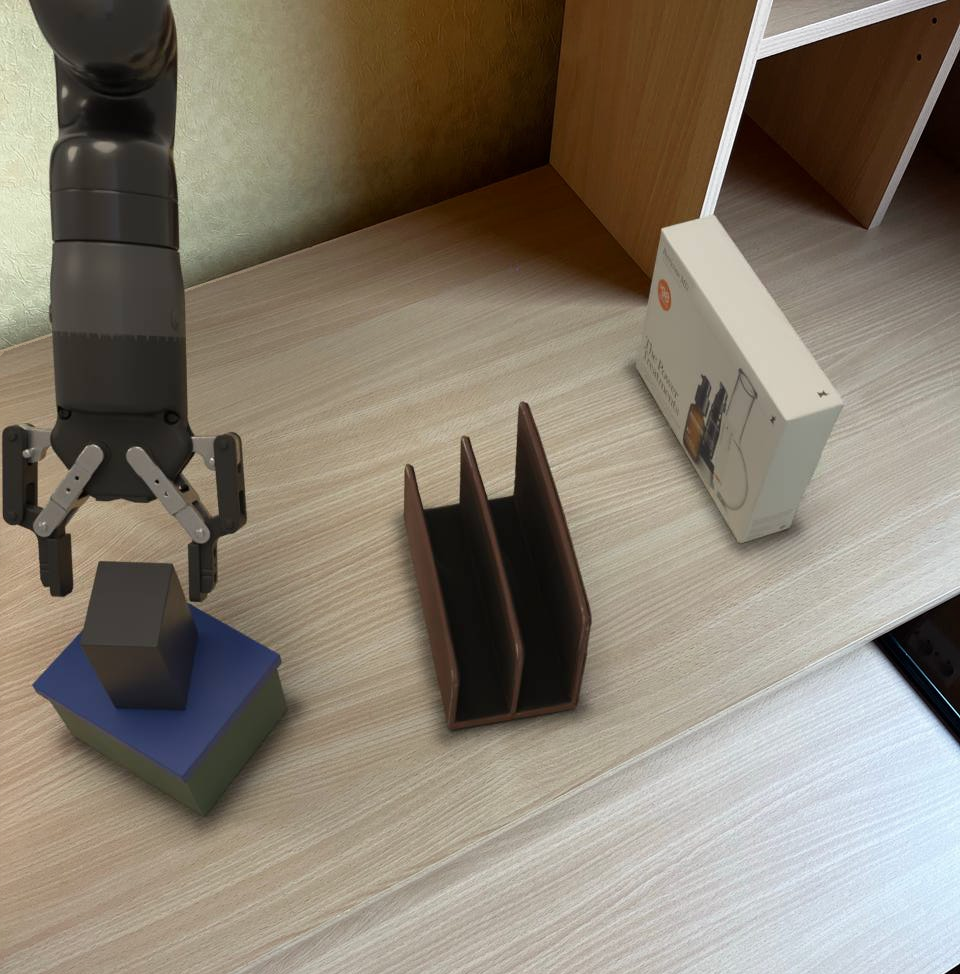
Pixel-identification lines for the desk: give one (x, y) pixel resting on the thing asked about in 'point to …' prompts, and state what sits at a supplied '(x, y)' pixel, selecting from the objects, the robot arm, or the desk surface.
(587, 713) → the desk surface
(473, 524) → the letter holder
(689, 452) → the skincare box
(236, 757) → the container
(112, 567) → the case
